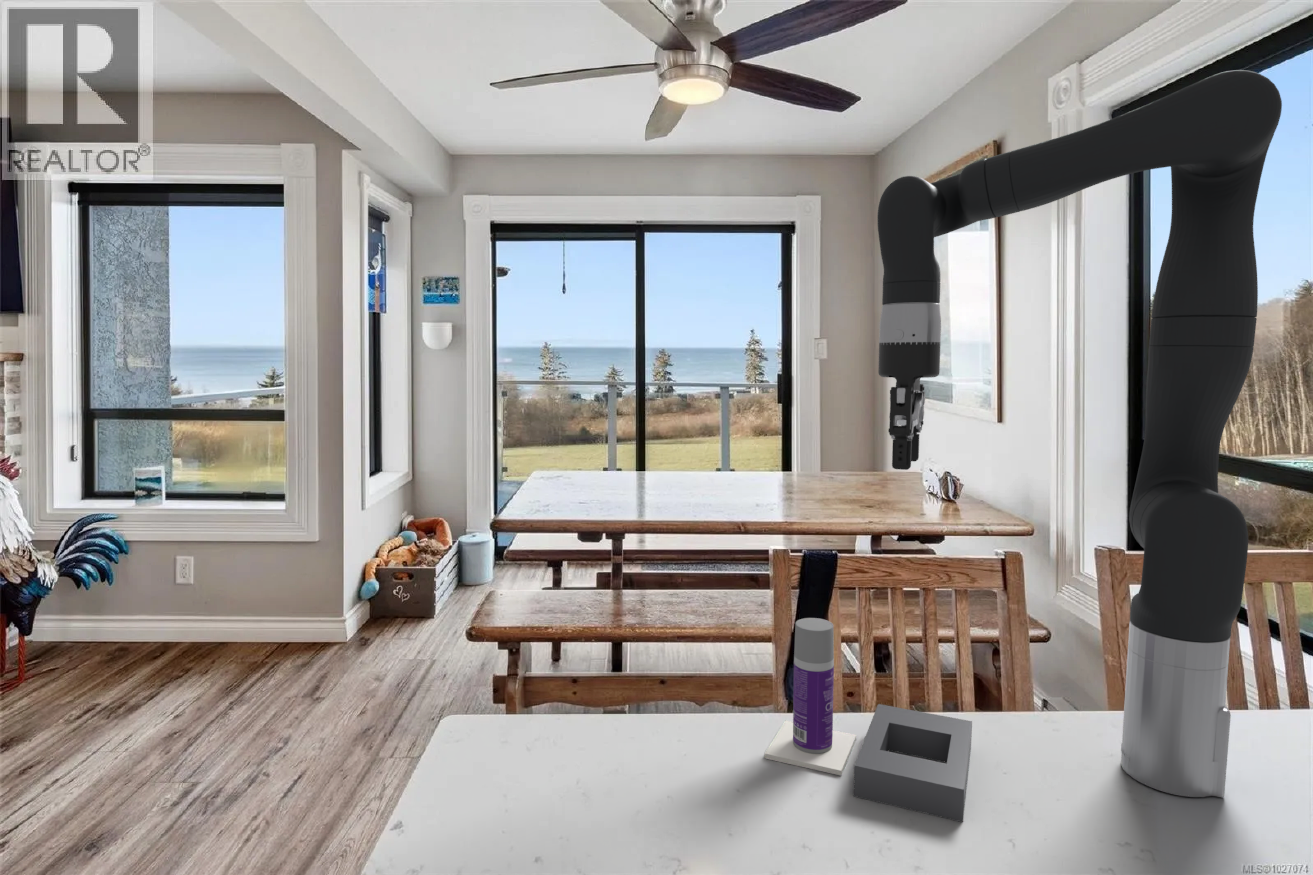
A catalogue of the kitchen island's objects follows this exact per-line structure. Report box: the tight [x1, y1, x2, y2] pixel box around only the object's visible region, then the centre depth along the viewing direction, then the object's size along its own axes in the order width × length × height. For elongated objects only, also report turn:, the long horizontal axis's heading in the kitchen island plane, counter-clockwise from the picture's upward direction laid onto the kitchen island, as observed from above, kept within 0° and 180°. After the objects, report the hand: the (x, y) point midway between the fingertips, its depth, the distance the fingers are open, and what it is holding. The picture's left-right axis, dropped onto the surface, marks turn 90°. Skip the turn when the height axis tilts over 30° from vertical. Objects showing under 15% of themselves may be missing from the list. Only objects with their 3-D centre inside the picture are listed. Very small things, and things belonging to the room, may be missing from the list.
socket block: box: [852, 703, 973, 823], centre depth 87 cm, size 11×16×4 cm
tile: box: [764, 720, 857, 776], centre depth 92 cm, size 9×9×1 cm
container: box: [792, 617, 835, 754], centre depth 91 cm, size 5×5×15 cm
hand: (905, 464), depth 99 cm, fingers open, 8 cm apart
